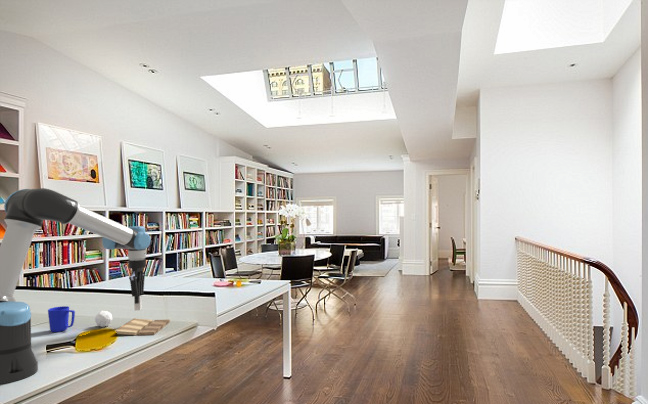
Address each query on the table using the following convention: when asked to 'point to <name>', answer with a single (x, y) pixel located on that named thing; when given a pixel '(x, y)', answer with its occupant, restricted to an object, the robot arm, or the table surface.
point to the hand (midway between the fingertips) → (138, 309)
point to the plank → (133, 326)
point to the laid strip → (154, 327)
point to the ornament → (103, 318)
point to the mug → (60, 318)
